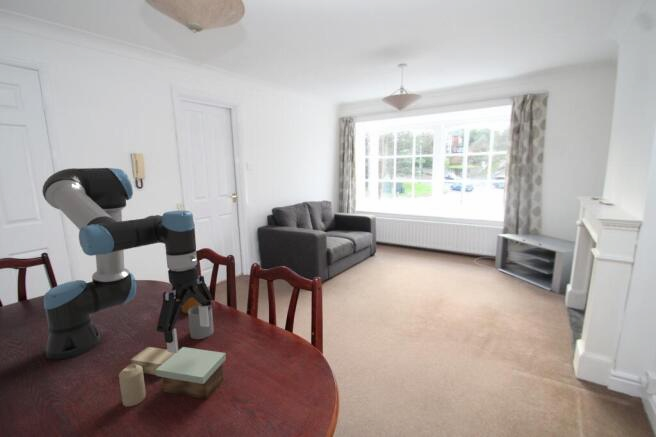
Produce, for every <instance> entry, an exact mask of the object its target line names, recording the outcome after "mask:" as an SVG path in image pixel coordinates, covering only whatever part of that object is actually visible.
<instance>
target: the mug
mask: <svg viewBox="0 0 656 437" xmlns="http://www.w3.org/2000/svg"><path fill="white" fill-rule="evenodd" d="M197 289H198V288H197ZM197 305H201V304H200V303H199V302H197V301H196V300H195V299H194V298H193V297H192V298H189V299H188V300H187V301H185V303H184V305H182V307H181V311H182V313H184V314H188V311H189V309H191V308H192V307H194V306H197Z"/></svg>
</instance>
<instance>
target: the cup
mask: <svg viewBox="0 0 656 437" xmlns="http://www.w3.org/2000/svg"><path fill="white" fill-rule="evenodd" d="M198 306H200V305H197V306H194V307H192V308H191V309H189V311H188V313H187V314H188V324H189V335H190V338H191V339H193V340H201V339H206V338H209V337H210V336H212V335H213V334H214V321H213V320H214V318H213V307H212V306H211V305H208V309H209V314H208V315H209V327H203V326H200V318H199V307H198Z"/></svg>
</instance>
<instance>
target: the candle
mask: <svg viewBox="0 0 656 437" xmlns="http://www.w3.org/2000/svg"><path fill="white" fill-rule="evenodd" d="M144 377H145V376H144V373H143V368H142V366H139V365H136V364H134V363H133V364H131V363H130V364H129V365H128V366H126V367H125V368H123V369H122V370H121V371H119V374H118V380H119V381H118V382H119V386H120V387H119V388H120V393H121V394H120V396H121V401H122V405H123V406H124V407H128V408H129V407H133V406H136V405H138V404H140V403H142V402H143V401H144V400H145V399H146V396H147V395H146V394H147V393H146V392H147V391H146V384H145V378H144Z"/></svg>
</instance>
